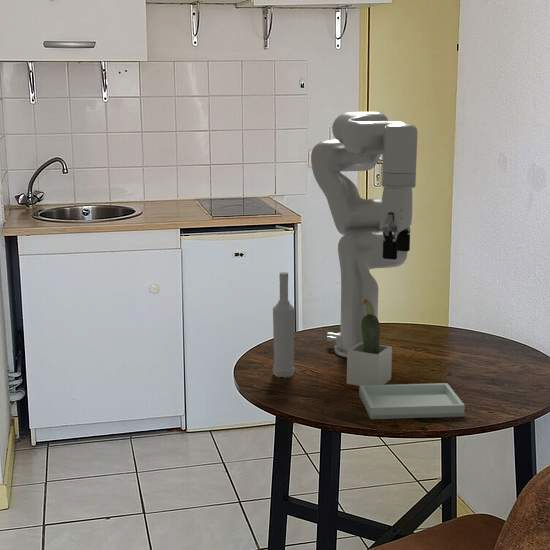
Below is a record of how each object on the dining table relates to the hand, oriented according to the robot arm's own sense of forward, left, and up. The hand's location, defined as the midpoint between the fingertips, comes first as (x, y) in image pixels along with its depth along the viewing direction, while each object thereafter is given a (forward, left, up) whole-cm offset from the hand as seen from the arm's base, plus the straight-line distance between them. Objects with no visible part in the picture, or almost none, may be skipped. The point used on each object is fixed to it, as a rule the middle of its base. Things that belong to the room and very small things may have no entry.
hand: (396, 254), depth 208 cm
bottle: (-25, -8, -31) cm, 40 cm away
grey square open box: (-5, -3, -30) cm, 31 cm away
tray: (+9, -14, -30) cm, 35 cm away
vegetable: (-5, -3, -30) cm, 31 cm away
